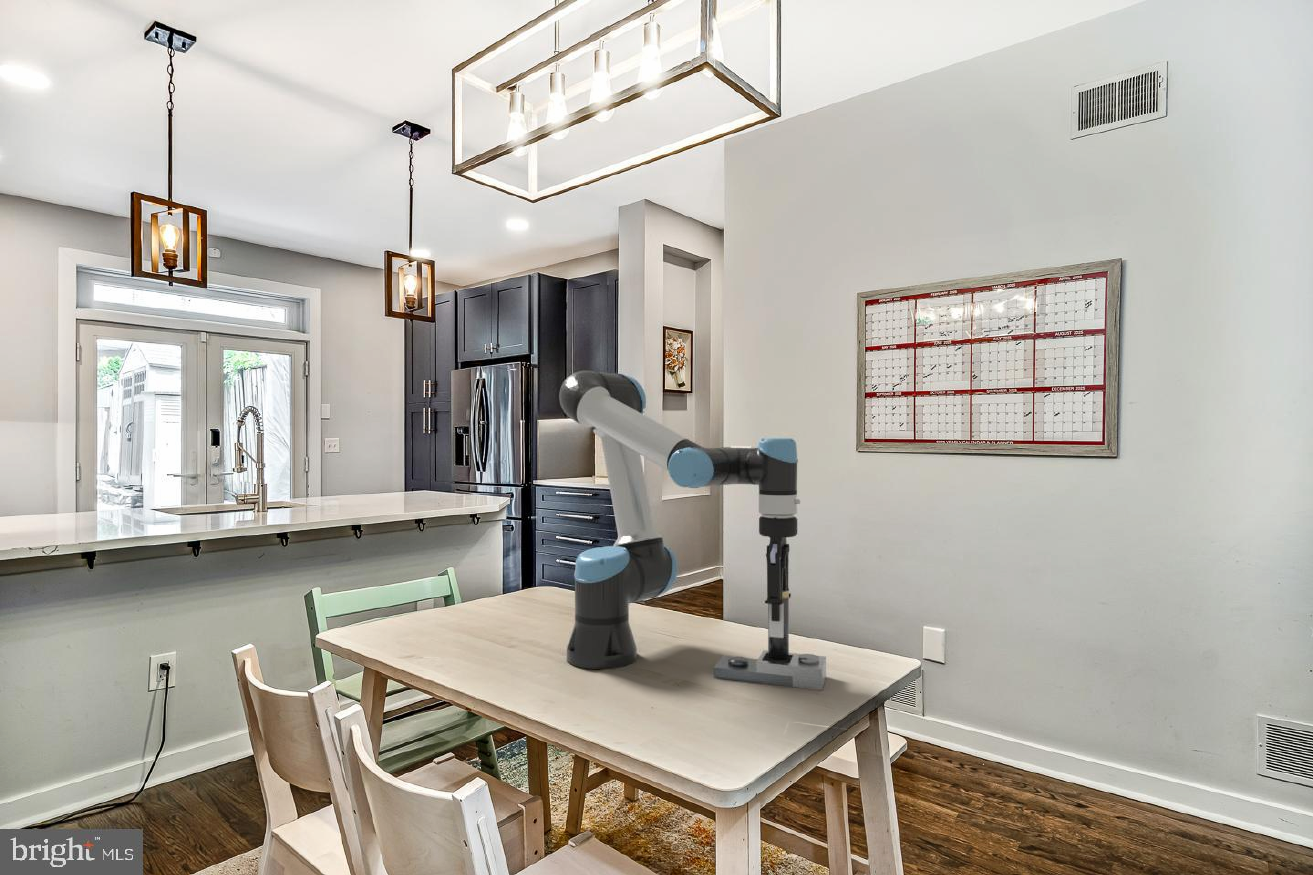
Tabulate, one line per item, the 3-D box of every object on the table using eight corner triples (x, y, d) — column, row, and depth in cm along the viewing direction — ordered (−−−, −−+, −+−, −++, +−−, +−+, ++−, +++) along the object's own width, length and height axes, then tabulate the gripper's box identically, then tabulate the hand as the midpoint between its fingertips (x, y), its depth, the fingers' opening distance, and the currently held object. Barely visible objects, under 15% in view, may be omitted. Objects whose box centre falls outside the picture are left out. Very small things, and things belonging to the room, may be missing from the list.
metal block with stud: (713, 677, 135) (713, 653, 135) (723, 664, 143) (723, 642, 143) (822, 690, 129) (822, 664, 129) (826, 676, 136) (826, 652, 136)
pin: (766, 659, 134) (766, 592, 134) (770, 653, 138) (770, 588, 138) (787, 661, 133) (787, 594, 133) (790, 655, 136) (789, 590, 137)
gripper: (791, 520, 126) (791, 647, 126) (802, 512, 142) (802, 624, 142) (750, 519, 129) (751, 643, 128) (766, 511, 145) (766, 621, 145)
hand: (778, 633), depth 135 cm, fingers closed on pin, 4 cm apart
